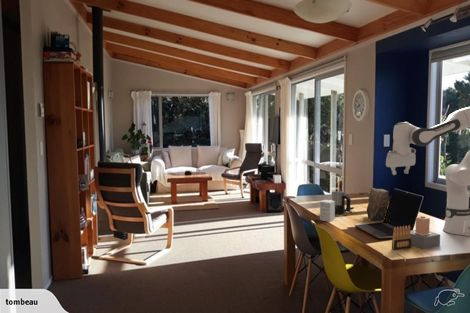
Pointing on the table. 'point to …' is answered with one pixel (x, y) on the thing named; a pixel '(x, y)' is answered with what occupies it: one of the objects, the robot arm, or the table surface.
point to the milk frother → (341, 202)
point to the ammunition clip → (401, 238)
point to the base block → (425, 239)
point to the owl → (377, 204)
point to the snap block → (422, 225)
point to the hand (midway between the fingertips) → (400, 174)
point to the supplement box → (327, 210)
